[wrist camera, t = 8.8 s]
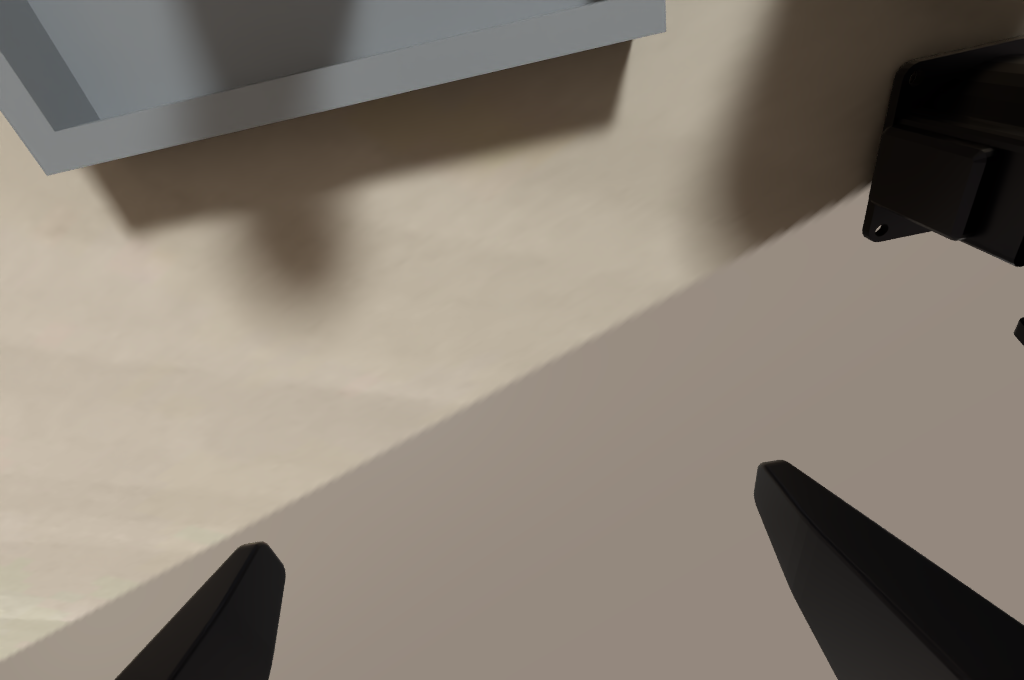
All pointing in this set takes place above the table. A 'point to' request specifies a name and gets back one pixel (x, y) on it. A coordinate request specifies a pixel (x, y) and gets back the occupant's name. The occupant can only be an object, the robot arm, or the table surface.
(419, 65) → the tray
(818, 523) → the robot arm
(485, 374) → the table surface
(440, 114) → the table surface
